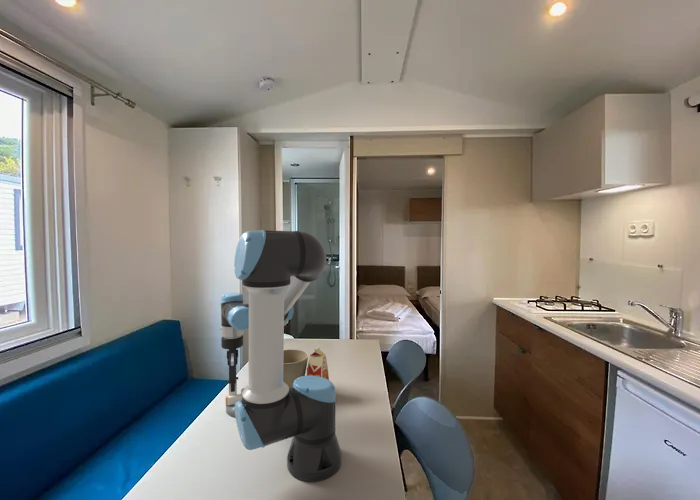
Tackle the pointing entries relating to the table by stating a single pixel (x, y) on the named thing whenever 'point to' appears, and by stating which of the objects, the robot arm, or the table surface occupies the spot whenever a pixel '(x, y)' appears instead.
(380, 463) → the table surface
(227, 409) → the dial base
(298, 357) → the plant pot
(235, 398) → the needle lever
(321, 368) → the milk carton
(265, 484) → the table surface
